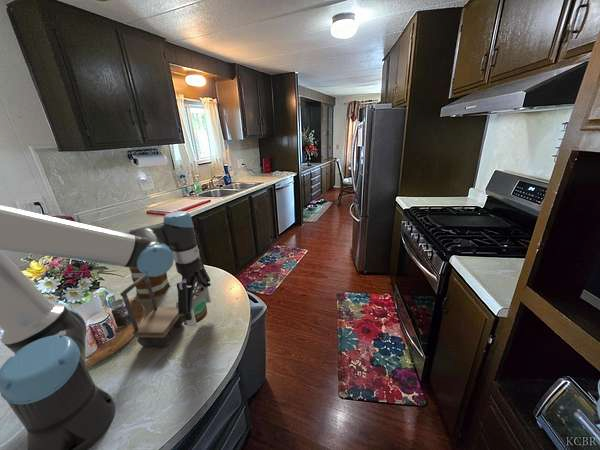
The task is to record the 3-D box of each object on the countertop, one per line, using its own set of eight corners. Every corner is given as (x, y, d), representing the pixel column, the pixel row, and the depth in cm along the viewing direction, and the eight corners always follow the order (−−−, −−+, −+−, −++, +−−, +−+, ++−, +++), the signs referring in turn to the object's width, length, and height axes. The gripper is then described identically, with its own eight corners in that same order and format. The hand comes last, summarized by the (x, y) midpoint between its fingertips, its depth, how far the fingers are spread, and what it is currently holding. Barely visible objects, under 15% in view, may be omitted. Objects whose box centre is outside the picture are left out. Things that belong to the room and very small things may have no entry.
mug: (168, 294, 107) (160, 264, 101) (133, 302, 102) (122, 272, 97) (172, 273, 124) (166, 246, 119) (142, 279, 119) (134, 252, 114)
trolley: (167, 349, 78) (151, 293, 71) (138, 349, 79) (118, 293, 72) (186, 322, 90) (173, 272, 82) (160, 322, 90) (145, 272, 83)
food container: (198, 330, 80) (192, 305, 76) (181, 328, 81) (175, 303, 77) (217, 305, 91) (212, 283, 88) (202, 304, 92) (197, 281, 89)
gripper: (179, 279, 67) (195, 339, 75) (213, 243, 89) (222, 292, 97) (153, 279, 67) (171, 339, 75) (193, 243, 90) (204, 292, 97)
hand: (200, 313), depth 86 cm, fingers closed on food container, 11 cm apart
